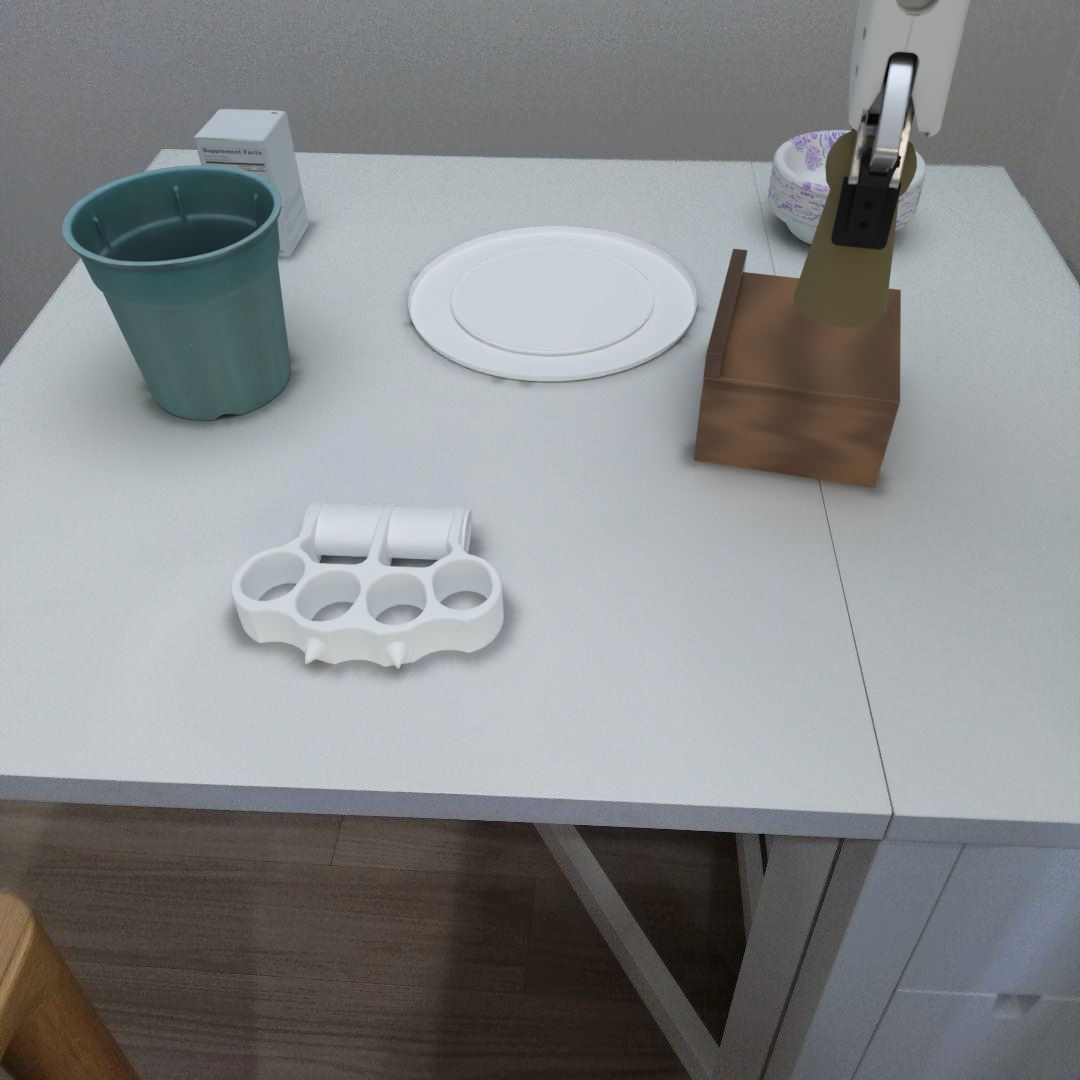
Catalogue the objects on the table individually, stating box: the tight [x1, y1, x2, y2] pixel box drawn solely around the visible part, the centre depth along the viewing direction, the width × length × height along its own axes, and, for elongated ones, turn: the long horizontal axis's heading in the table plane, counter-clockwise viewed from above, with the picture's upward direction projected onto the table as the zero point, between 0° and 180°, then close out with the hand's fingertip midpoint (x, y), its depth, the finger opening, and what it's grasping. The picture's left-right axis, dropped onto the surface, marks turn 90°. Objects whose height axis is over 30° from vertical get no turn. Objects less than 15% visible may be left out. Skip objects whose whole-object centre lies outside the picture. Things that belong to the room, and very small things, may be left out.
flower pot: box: [61, 164, 292, 421], centre depth 81 cm, size 16×16×16 cm
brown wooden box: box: [693, 248, 902, 489], centre depth 78 cm, size 14×16×10 cm
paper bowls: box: [767, 129, 927, 246], centre depth 102 cm, size 15×15×8 cm
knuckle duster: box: [230, 500, 505, 670], centre depth 67 cm, size 3×18×15 cm
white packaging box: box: [193, 108, 310, 258], centre depth 101 cm, size 7×7×13 cm
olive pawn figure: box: [794, 130, 917, 328], centre depth 61 cm, size 6×6×11 cm
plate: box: [407, 225, 698, 382], centre depth 95 cm, size 28×28×1 cm
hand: (858, 219), depth 61 cm, fingers closed on olive pawn figure, 5 cm apart
